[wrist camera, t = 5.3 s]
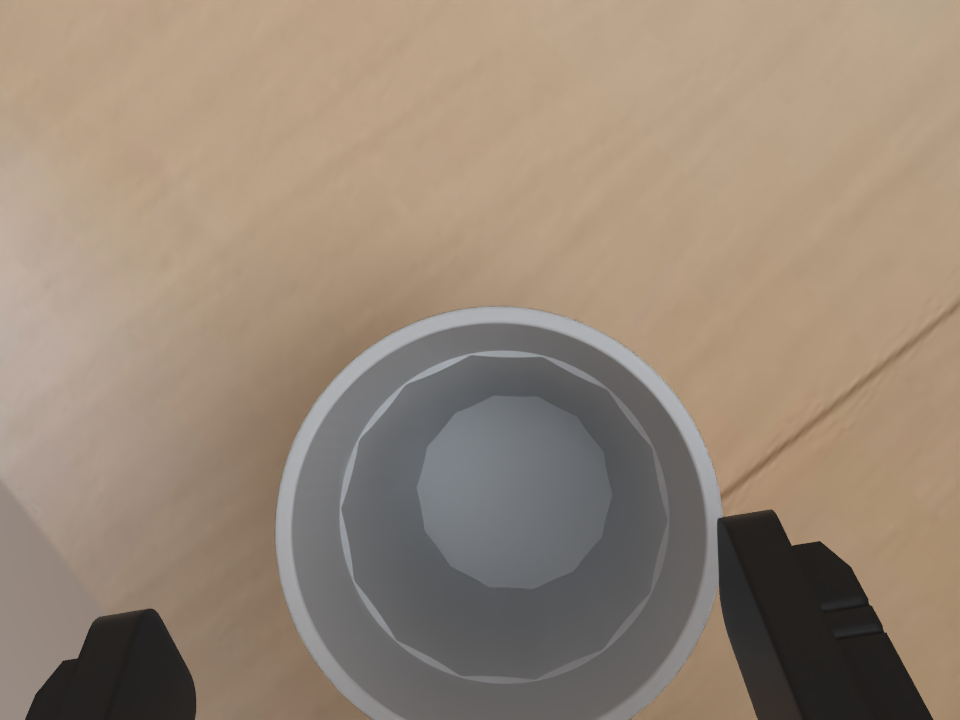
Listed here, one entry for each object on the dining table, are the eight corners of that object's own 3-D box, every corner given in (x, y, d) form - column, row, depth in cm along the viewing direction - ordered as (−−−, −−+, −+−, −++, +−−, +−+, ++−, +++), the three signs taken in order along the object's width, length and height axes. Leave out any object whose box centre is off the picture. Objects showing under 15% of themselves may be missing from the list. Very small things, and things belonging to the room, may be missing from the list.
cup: (514, 675, 28) (493, 860, 16) (334, 485, 28) (184, 523, 17) (701, 490, 28) (821, 534, 16) (516, 306, 29) (497, 215, 17)
